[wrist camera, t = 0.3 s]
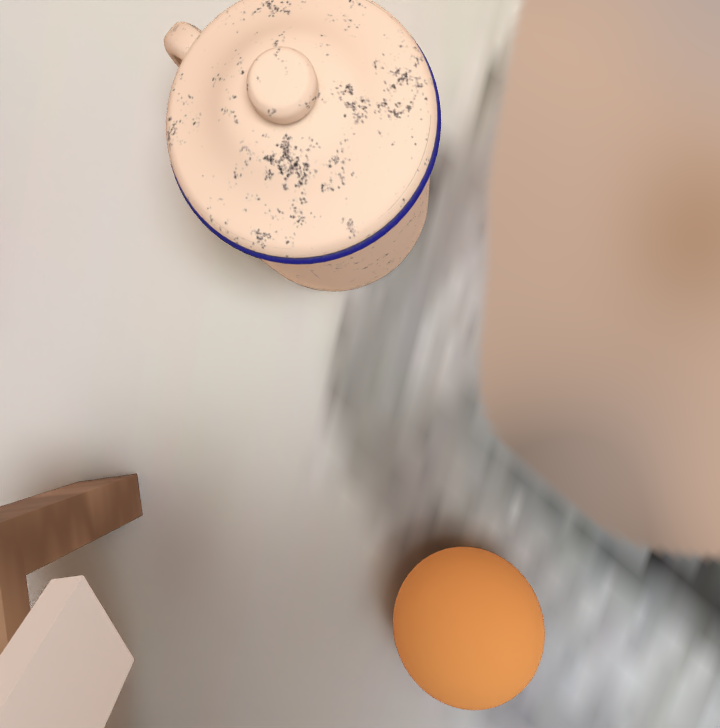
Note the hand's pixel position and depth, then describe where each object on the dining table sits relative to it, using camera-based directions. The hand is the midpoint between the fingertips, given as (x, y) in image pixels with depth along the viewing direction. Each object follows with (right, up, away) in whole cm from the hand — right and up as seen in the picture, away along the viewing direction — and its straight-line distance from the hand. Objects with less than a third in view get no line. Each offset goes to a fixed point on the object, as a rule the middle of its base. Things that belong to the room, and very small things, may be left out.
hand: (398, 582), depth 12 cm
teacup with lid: (-3, +13, +16) cm, 21 cm away
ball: (+4, -6, +12) cm, 14 cm away
